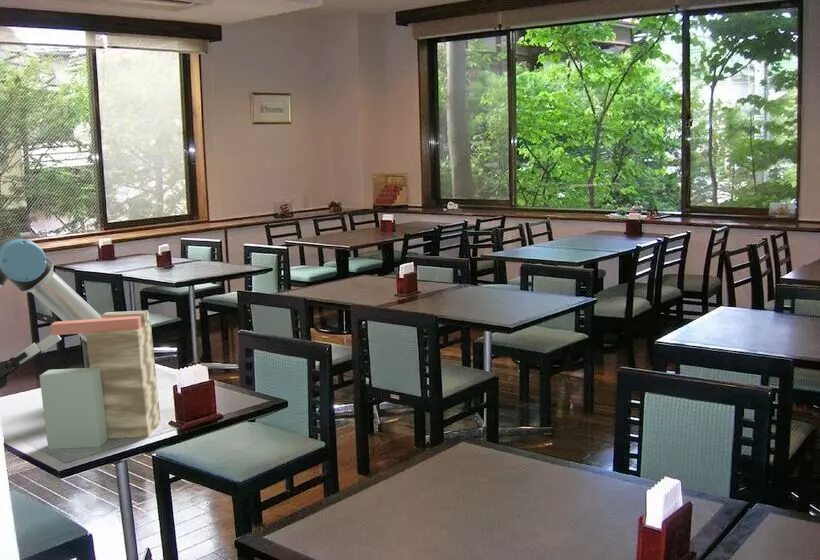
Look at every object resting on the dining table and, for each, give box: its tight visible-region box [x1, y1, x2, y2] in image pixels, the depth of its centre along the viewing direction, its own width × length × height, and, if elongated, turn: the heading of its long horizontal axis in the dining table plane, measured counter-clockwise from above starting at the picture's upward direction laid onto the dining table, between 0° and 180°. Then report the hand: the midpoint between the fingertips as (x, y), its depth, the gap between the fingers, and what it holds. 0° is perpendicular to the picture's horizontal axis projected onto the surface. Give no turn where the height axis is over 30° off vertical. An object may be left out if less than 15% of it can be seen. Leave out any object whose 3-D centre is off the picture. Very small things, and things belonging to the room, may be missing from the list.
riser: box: [39, 367, 109, 450], centre depth 229 cm, size 6×14×20 cm, turn 90°
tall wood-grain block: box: [86, 309, 162, 439], centre depth 237 cm, size 12×14×34 cm
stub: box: [50, 316, 142, 336], centre depth 232 cm, size 4×23×3 cm, turn 97°
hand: (48, 341), depth 232 cm, fingers open, 13 cm apart
